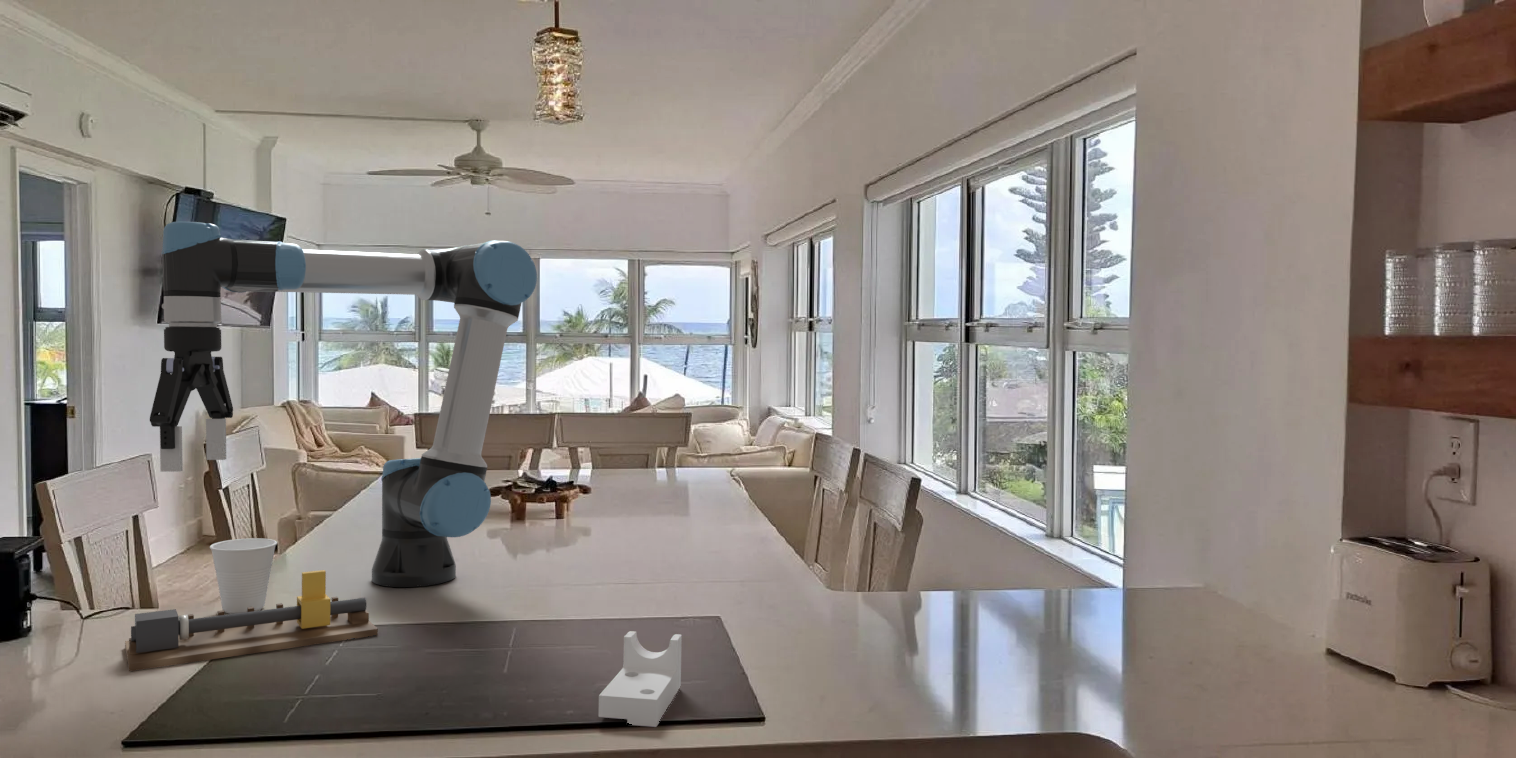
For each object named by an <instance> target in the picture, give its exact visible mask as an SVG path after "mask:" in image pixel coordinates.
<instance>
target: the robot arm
mask: <svg viewBox="0 0 1516 758" xmlns="http://www.w3.org/2000/svg"><path fill="white" fill-rule="evenodd" d="M162 236H163V238H162V249H161V250H162V251H161V255H162V279H163V280H162V281H163V287H162V288H163V303H162V304H161V308H162V309H163V322H165V323H167V324H168V326H166V327H165V328H163V348H164V350H165V352H166V351H167V352H172V353H173V352H174V353H173V354H174V355H173V357H172V358H171V357H163V358H161V361H160V375H159V380H158V383H157V388H156V391H155V396H154V400H153V403H152V408H151V410H150V415H149V422H150V425H151V427H155V428H156V427H157V428H158V427H159V450H160V451H159V454H160V455H159V456H160V459H159V460H160V461H159V462H160V464H159V465H160V472H167V473H168V472H173V473H174V472H178V473H179V472H183V471H184V470H183V469H184V468H183V467H184V466H183V465H184V464H183V426H182V425H181V426H179V424H180V421H181V418H182V415H183V412H184V410H185V408H186V405H187V403H188V400H189V398H190V394H191V393H192V391H194V390H196V391H197V393H198V395H199V397H200V399H201V401H202V404H203V406H204V408H205V410H206V413H207V414H208V416H209V417H208V418H205V439H206V441H205V444H206V445H205V446H206V451H205V452H206V454H205V455H206V460H207V461H208V460H209V461H226V460H227V419H232V418H233V414H234V412H233V411H234V407H233V402H232V398H231V394H230V391H229V387H228V386H229V385H228V383H227V378H226V375H225V371H224V362H223V361H224V360H223V356H212V352H220V351H221V350H222V329H220V327H218V324H221V323H222V301H221V300H222V298H221V289H224V290H225V291H229V292H231V293H238V294H239V293H240V294H241V293H242V294H243V293H246V292H248V293H249V292H254V293H256V292H259V293H260V292H262V293H272V292H273V293H274V292H275V293H313V294H314V293H316V294H317V293H318V294H319V293H320V294H321V293H322V294H362V295H363V294H366V295H367V294H369V295H407V296H408V295H409V296H410V295H413V296H415V295H416V296H417V297H418V298H419V300H421V301H434V302H445V303H446V302H447V303H454V304H453V308H454V309H455V311H456V313H457V315H458V316H459V322H458V327H457V332H456V335H455V336H456V337H455V339H454V345H453V351H452V355H451V358H450V364H449V368H448V372H447V377H446V383H445V387H444V393H443V396H442V402H441V405H440V406H441V407H440V410H439V415H438V419H437V424H436V429H435V434H434V439H433V443H432V446H431V447H430V448H429V449H428V450H426V451H424V452H423V453H422V454H421V456H420V457H418V458H417V457H416V458H415V457H414V458H404V459H402V458H400V459H390V460H387V461H386V462H385V463H384V464H383V467H382V476H381V483H382V487H381V497H382V499H381V516H382V517H381V528H382V529H381V542H380V544H379V547H378V549H377V553H376V556H375V559H374V562H373V565H372V567H371V582H372V583H373V584H375V585H378V586H382V587H392V588H394V587H395V588H412V587H413V588H416V587H417V588H418V587H427V586H432V585H438V584H443V583H446V582H449V581H451V580H452V581H453V579H454V578H456V577H457V574H456V573H457V571H456V570H457V569H456V568H457V564H456V561H455V559H454V556H453V552H452V549H451V545H450V543H449V540H448V538H460V537H461V538H462V537H464V536H468V535H469V534H471V533H472V532H474V531H475V530H476V529H477V530H478V528H479V527H480V526H481V525H482V524H483V523H484V522H485V520H486V518H487V517H488V515H489V512H490V509H491V505H492V495H491V491H490V489H489V488H488V486H487V483H486V482H485V480H486V476H487V471H488V464H487V462H486V461H485V459H484V458H483V456H482V452H483V448H484V442H485V437H486V433H487V427H488V424H489V418H490V414H491V409H492V404H493V399H494V394H495V389H496V385H497V380H498V375H499V371H500V367H501V366H500V365H501V360H502V357H503V356H502V355H503V353H504V346H505V341H506V337H507V333H508V329H509V328H510V326H512V325H513V324H515V323H517V322H518V320H519V317H520V311H521V307H522V303H524V302H525V301H527V300H528V299H529V298H530V297H531V296H532V294H534V291H535V289H536V286H537V282H538V274H537V268H536V265H535V262H534V260H533V259H532V257H531V255H530V254H529V253H528V251H527V250H526V249H525V248H523V247H522V246H521V245H519V244H517V243H515V242H513V241H508V240H498V239H495V240H494V239H493V240H488V241H486V242H480V243H475V244H474V243H473V244H466V245H465V244H464V245H461V246H456V247H451V248H442V249H421V250H419V251H418V252H417V253H416V254H415V253H414V254H410V253H392V252H391V253H389V252H370V251H369V252H368V251H367V252H366V251H349V250H347V251H345V250H324V249H323V250H322V249H321V250H320V249H303V248H302V247H301V246H300V245H299V244H297V243H290V242H282V241H266V240H264V241H263V240H247V239H246V240H245V239H232V238H226V237H222V234H221V233H220V228H219V226H218V225H216V224H213V223H209V222H208V223H205V222H200V221H198V222H197V221H172V222H170V223H167V224H166V225H165V226H164V228H163V234H162Z"/></svg>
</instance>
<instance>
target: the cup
mask: <svg viewBox="0 0 1516 758" xmlns="http://www.w3.org/2000/svg"><path fill="white" fill-rule="evenodd" d="M277 545H278V542H277V541H276V540H275V539H271V538H262V537H261V538H260V537H259V538H257V537H251V538H249V537H248V538H237V539H228V540H223V541H218V542H214V543H212V544H211V545H210V546H209V549H210V550H211V553H212V560H213V565H214V569H215V576H216V580H217V585H218V586H217V587H218V592H219V597H220V598H219V599H220V604H221V609H222V610H224V613H225V614H228V615H229V614H237V613H245V612H247V607H254V611H261V610H263V608H264V607H265V603H266V598H267V591H268V589H269V588H268V586H269V581H270V577H271V571H272V570H271V569H272V564H273V561H274V555H275V550H276V546H277ZM222 610H221V611H222Z"/></svg>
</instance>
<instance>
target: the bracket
mask: <svg viewBox="0 0 1516 758" xmlns="http://www.w3.org/2000/svg"><path fill="white" fill-rule="evenodd" d="M670 638H671V639H670V640H669V644H668V647H667V648H666V649H665V650H663V651H659V652H658V651H657V652H654V651H650V650H648V649H646V648H644V647H643V646H642V644H641V643H640V641H639V639H638V635H637V631H633V630H632V631H631V630H630V631H628V632H627V633H626V634H624V636H623V656H622V657H623V661H622V662H623V666H622V668H621V669H620V671H619V672H618V673H617V674H616V675H615V676H614V678H612V680H611V681H610V682H609V683H608V684H607V686H606V687H605V688H604V689H603V690H602V691H601V693H600V694H599V695H598V718H607V719H608V718H609V719H619V720H620V719H621V720H622V719H624V720H626V721H627V722H626V724H627V723H629V724H632V725H631V726H637V727H638V726H640V727H654V728H657V726H658V725H659V724H660V722H661V720H662V719H661V717H662V715H663V714H664V712H665V711H666V709H667V707H668V705H669V704H670V703H671V701H672V699H673V697H674V695H675V694H676V693H677V691H678V689H679V688H680V686H681V687H682V685H681V684H682V642H683V641H682V634H679V633H678V634H677V633H676V634H673V635H672V637H670ZM671 704H672V703H671ZM666 712H667V711H666ZM664 715H665V714H664ZM662 718H663V717H662ZM660 719H661V720H660ZM659 721H660V722H659Z"/></svg>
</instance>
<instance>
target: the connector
mask: <svg viewBox="0 0 1516 758" xmlns="http://www.w3.org/2000/svg"><path fill="white" fill-rule="evenodd" d="M188 615H189V614H183V615H182V614H181V615H179V614H178V611H177V609H175V608H173V609H166V610H158V611H150V612H149V611H148V612H141V613H135V614H134V626H136V653H141V652H148V651H155V650H163V649H170V648H177V647H178V631H179V621H180V635H179V639H180V640H183V639H188V637H189V620H188Z"/></svg>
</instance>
